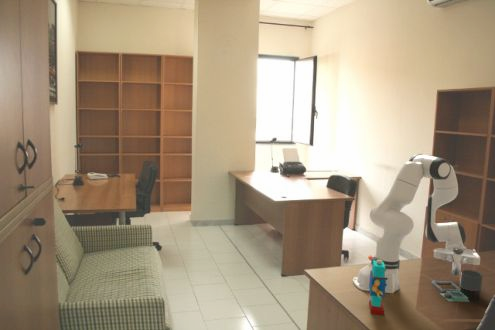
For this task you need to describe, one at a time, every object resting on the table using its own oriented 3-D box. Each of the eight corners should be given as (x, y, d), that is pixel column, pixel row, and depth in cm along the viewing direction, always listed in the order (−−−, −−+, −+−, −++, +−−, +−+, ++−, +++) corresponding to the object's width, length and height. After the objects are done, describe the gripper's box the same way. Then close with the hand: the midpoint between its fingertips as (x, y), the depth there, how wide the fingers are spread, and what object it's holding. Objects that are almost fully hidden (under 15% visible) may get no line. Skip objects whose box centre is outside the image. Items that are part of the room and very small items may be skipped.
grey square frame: (441, 293, 200) (441, 289, 200) (431, 284, 210) (431, 280, 210) (461, 293, 201) (462, 289, 200) (450, 285, 211) (450, 281, 210)
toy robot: (384, 317, 174) (389, 259, 171) (369, 315, 175) (374, 258, 172) (381, 304, 185) (386, 250, 182) (367, 302, 186) (371, 249, 183)
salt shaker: (453, 275, 195) (456, 251, 194) (448, 272, 200) (451, 248, 198) (462, 275, 195) (465, 251, 194) (457, 272, 200) (460, 248, 198)
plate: (448, 303, 190) (448, 297, 190) (439, 295, 198) (440, 290, 198) (469, 303, 191) (470, 298, 190) (459, 295, 199) (460, 290, 198)
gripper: (433, 243, 212) (433, 251, 200) (479, 250, 204) (482, 258, 191) (432, 255, 213) (432, 263, 200) (477, 262, 205) (480, 271, 192)
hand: (457, 261), depth 196 cm, fingers closed on salt shaker, 4 cm apart
